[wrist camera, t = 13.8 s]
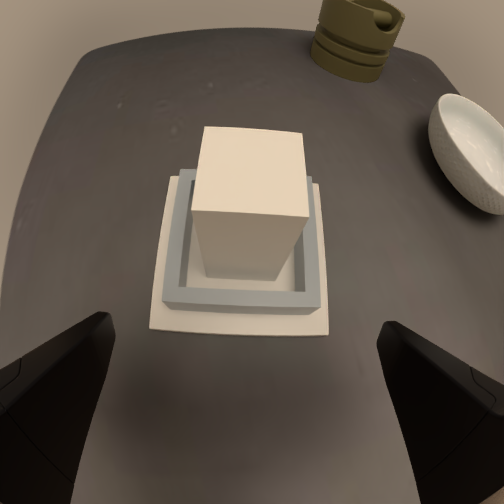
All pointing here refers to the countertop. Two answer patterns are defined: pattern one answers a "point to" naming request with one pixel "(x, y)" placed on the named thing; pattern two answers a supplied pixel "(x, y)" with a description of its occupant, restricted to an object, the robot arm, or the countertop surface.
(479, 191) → the cereal bowl
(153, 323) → the socket
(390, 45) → the piston
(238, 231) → the plug
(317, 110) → the countertop surface
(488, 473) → the robot arm
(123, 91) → the countertop surface
